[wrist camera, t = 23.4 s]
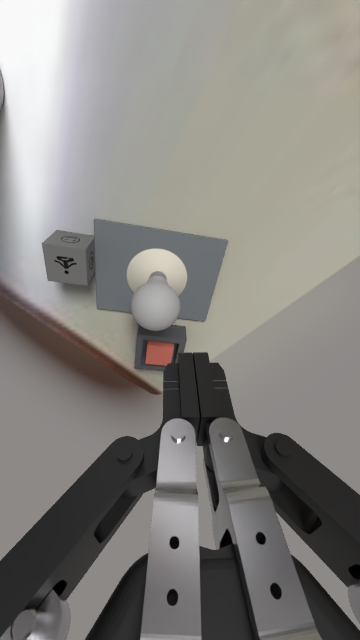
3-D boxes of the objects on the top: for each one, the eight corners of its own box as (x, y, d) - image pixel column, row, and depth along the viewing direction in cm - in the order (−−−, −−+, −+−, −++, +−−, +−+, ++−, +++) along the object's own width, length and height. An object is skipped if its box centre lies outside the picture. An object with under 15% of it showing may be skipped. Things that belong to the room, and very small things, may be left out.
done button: (146, 354, 46) (145, 363, 44) (148, 335, 44) (147, 345, 42) (170, 356, 47) (170, 366, 45) (173, 338, 44) (173, 348, 42)
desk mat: (97, 306, 41) (96, 308, 41) (94, 218, 33) (93, 220, 33) (204, 319, 44) (205, 321, 43) (227, 240, 35) (228, 241, 35)
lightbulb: (165, 300, 40) (164, 347, 32) (130, 282, 38) (118, 328, 29) (186, 270, 37) (191, 313, 29) (149, 249, 35) (142, 289, 26)
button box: (136, 354, 48) (134, 368, 45) (139, 321, 43) (137, 334, 41) (178, 358, 49) (178, 372, 46) (185, 326, 44) (186, 339, 42)
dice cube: (95, 235, 35) (85, 249, 31) (96, 269, 38) (87, 285, 34) (57, 229, 34) (41, 243, 30) (61, 264, 37) (47, 280, 33)
